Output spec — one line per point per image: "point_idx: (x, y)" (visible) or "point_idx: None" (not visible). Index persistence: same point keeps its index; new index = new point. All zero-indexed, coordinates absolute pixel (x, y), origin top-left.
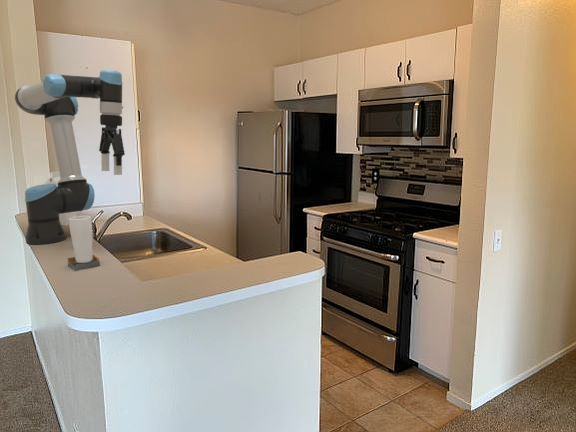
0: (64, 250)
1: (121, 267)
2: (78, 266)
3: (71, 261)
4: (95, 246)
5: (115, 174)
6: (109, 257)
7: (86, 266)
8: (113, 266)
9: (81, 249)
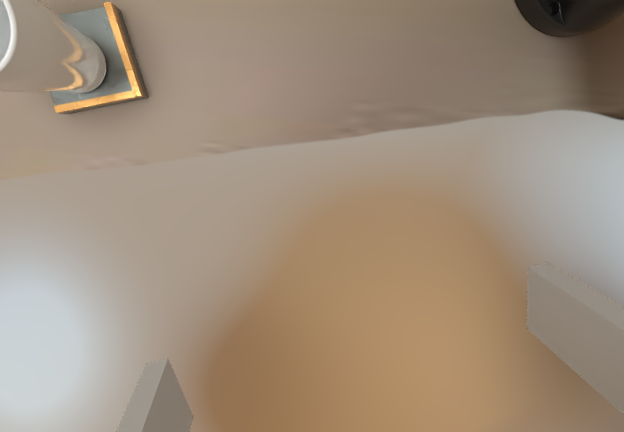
0: (366, 15)
1: (12, 176)
2: None
3: (102, 18)
4: (366, 124)
5: (147, 374)
6: (175, 153)
7: None
8: (37, 154)
9: (8, 43)
